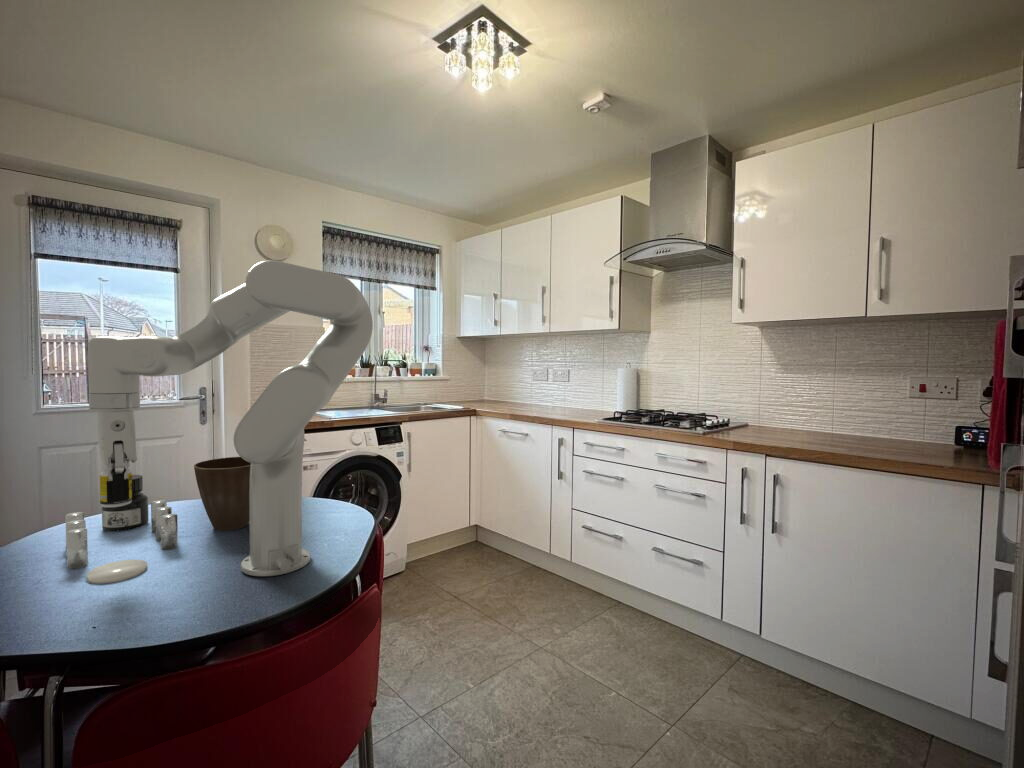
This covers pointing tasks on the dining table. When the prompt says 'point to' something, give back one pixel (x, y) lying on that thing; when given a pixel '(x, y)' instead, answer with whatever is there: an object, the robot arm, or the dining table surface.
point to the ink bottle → (128, 510)
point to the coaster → (116, 571)
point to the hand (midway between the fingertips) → (116, 497)
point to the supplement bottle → (104, 487)
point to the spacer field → (160, 524)
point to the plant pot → (225, 491)
